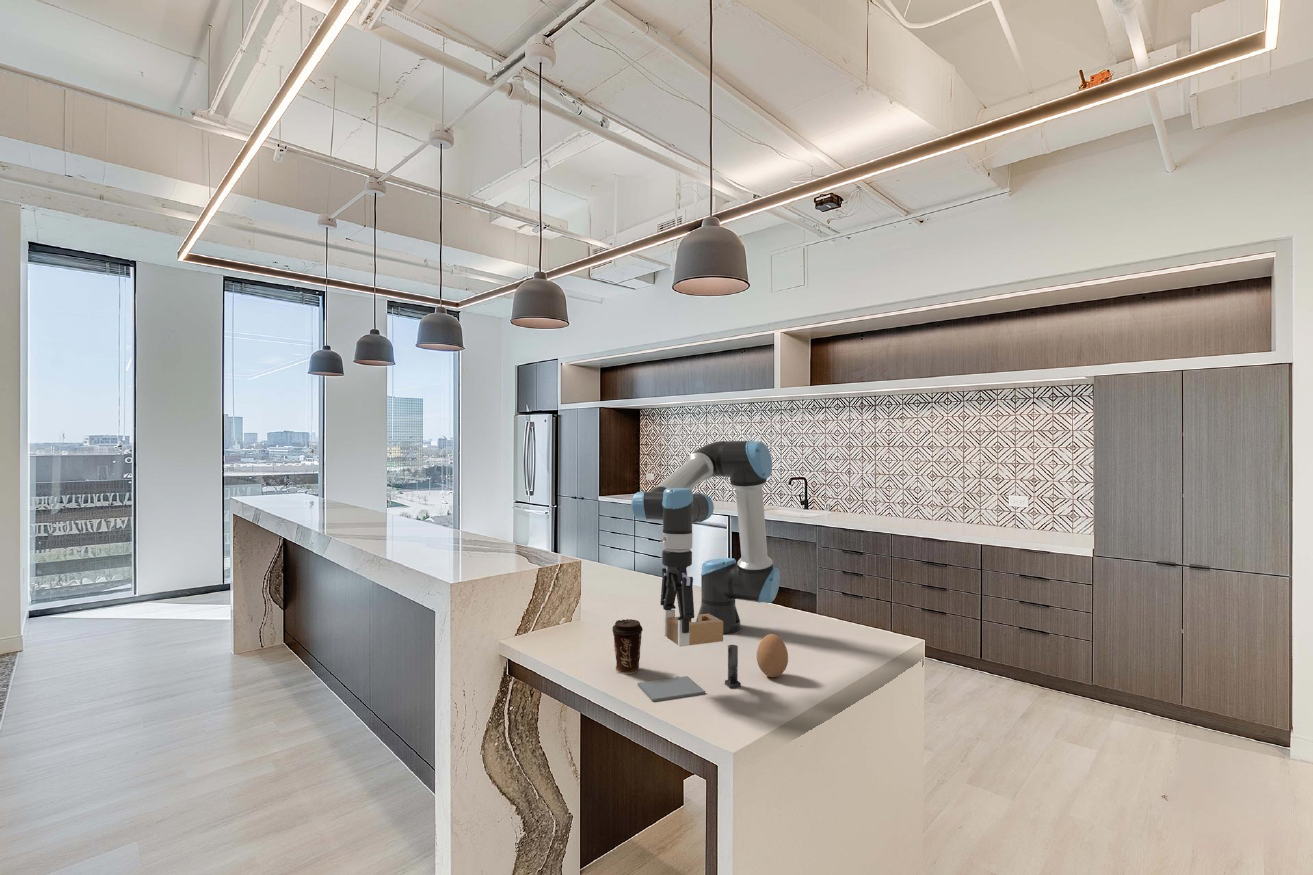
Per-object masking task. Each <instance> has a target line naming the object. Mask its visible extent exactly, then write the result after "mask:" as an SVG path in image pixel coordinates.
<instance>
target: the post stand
mask: <svg viewBox="0 0 1313 875" xmlns="http://www.w3.org/2000/svg"><path fill="white" fill-rule="evenodd" d="M738 650H739V646H738V645H736V644H729V645H727V679H724V685H726V687H728V688H729V689H735V688H740V687H742V685H741V684H742V683H741V682H740V681H739V680H738V678H739V677H738V676H739V675H738V674H739V671H738V670H739V667H738V662H739V652H738Z"/></svg>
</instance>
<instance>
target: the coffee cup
mask: <svg viewBox="0 0 1313 875" xmlns="http://www.w3.org/2000/svg"><path fill="white" fill-rule="evenodd" d="M643 631H644V630H643V627H642V625H641V623H640V621H639V620H637V619H631V618H630V619H629V618H628V619H619V620H616V621H615V623H614V624H613V625H612V634H613V639H614V641H613V643H614V644H613V646H614V647H613V648H614V653H615V654H614V655H615V660H616V665H615V671H616V673H619V674H622V675H623V674H624V675H631V674H636V673H637V672H638V671H639V669H640V659H641V645H642V635H643V634H642V632H643Z"/></svg>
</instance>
